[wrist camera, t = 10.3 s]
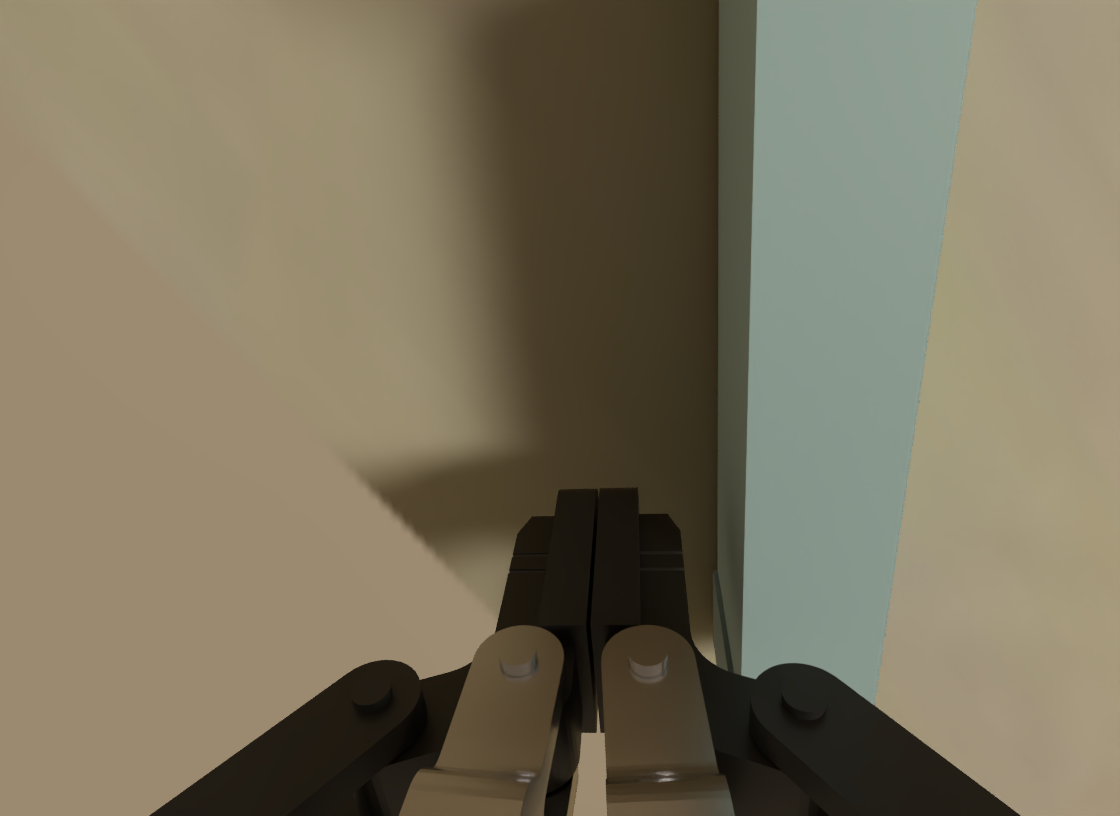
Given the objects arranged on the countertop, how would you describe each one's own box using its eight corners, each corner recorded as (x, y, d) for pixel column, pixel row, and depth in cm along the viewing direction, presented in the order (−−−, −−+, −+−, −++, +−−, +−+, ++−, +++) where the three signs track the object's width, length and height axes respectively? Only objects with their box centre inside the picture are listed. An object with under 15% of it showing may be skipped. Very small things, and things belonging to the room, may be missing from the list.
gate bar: (712, -80, 10) (752, -139, 7) (886, -103, 10) (1018, -175, 7) (712, 637, 17) (733, 794, 13) (819, 637, 16) (869, 797, 13)
